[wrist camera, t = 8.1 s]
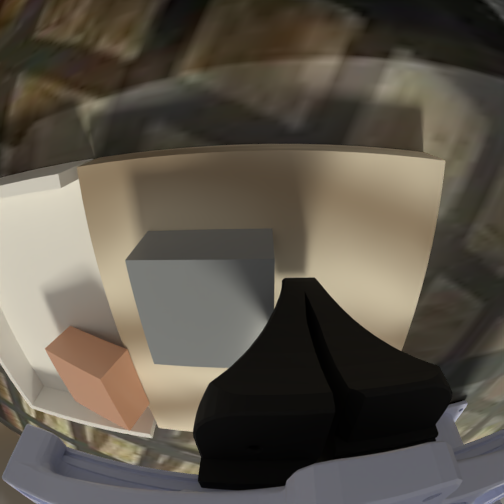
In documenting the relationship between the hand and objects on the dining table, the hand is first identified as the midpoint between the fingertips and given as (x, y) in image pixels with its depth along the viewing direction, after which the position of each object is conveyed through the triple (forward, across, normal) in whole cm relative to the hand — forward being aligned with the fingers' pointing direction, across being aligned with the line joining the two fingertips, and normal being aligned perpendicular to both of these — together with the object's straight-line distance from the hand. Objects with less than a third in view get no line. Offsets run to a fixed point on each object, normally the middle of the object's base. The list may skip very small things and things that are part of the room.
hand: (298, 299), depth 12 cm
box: (+3, +15, +4) cm, 16 cm away
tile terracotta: (+2, +11, +7) cm, 13 cm away
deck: (+3, +1, +4) cm, 5 cm away
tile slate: (+1, +4, 0) cm, 4 cm away
